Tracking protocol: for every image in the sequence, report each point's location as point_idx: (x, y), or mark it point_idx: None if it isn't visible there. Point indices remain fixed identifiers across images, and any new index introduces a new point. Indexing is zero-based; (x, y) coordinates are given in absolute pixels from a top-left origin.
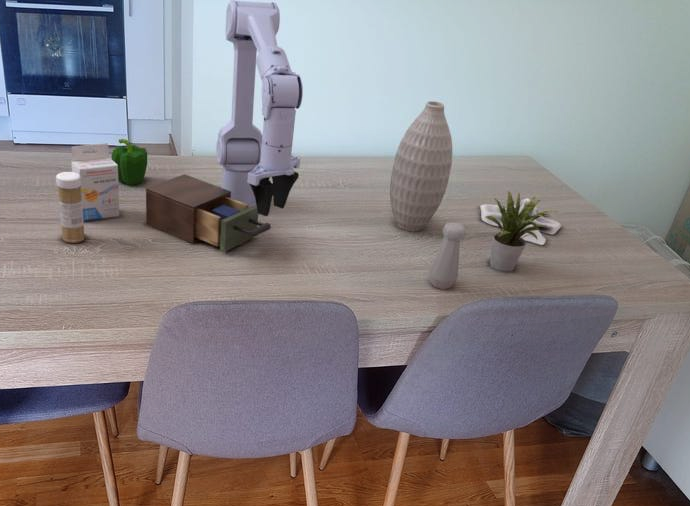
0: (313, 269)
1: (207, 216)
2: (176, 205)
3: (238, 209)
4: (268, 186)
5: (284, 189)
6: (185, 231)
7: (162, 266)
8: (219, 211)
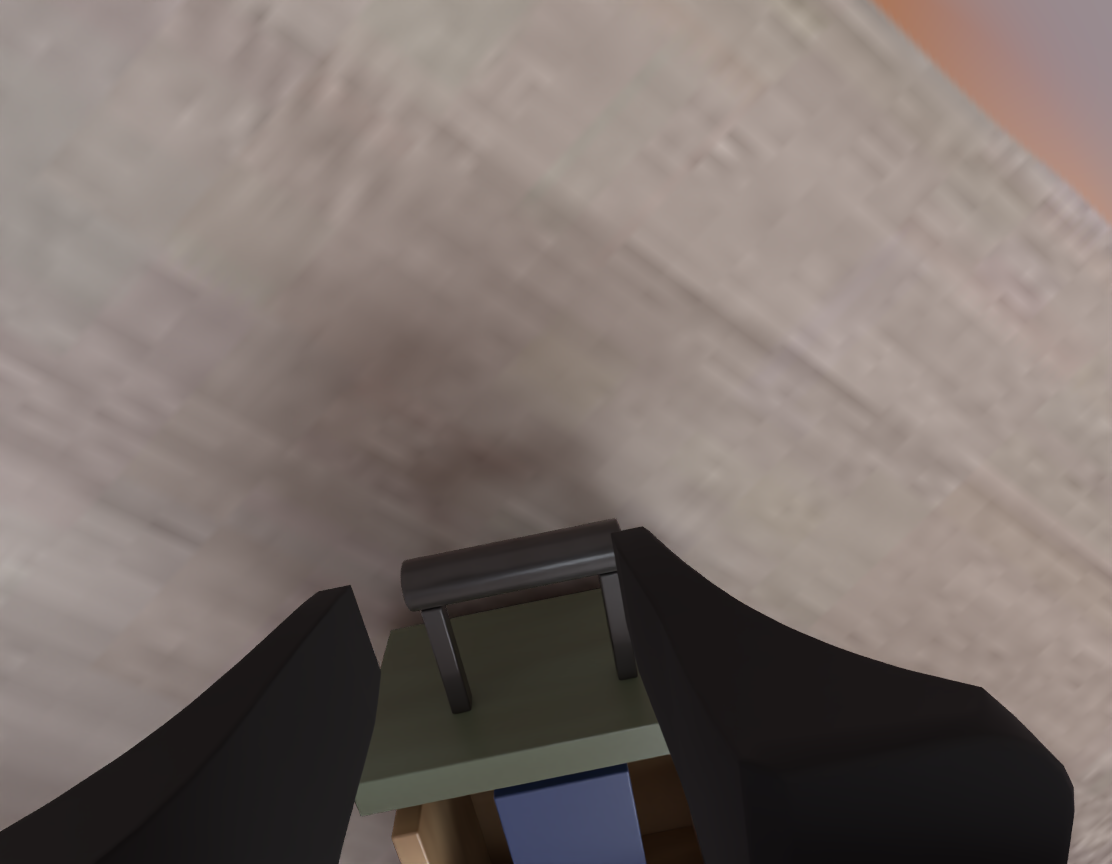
0: (331, 126)
1: None
2: None
3: (439, 832)
4: (1048, 794)
5: (260, 770)
6: None
7: (987, 615)
8: (624, 842)
